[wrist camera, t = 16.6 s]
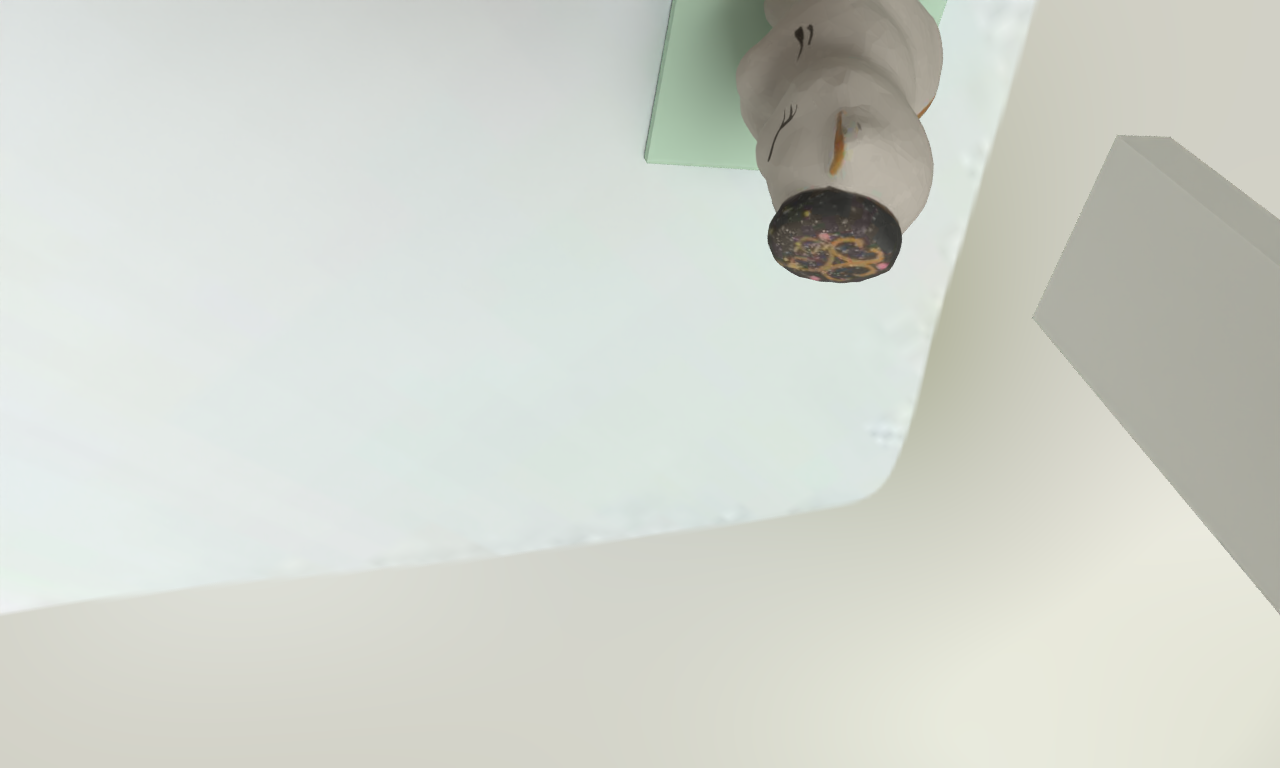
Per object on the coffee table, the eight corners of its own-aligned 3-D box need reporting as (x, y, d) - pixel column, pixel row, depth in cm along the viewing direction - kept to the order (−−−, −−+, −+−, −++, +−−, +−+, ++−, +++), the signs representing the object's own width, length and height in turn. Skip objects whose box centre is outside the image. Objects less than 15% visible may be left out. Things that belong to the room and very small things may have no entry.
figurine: (679, -55, 38) (803, 101, 27) (918, -75, 40) (1130, 65, 29) (678, 148, 44) (781, 348, 33) (887, 124, 46) (1055, 307, 34)
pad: (696, -131, 37) (699, -128, 37) (970, -91, 41) (977, -87, 40) (644, 157, 45) (646, 163, 44) (880, 172, 48) (885, 178, 47)
